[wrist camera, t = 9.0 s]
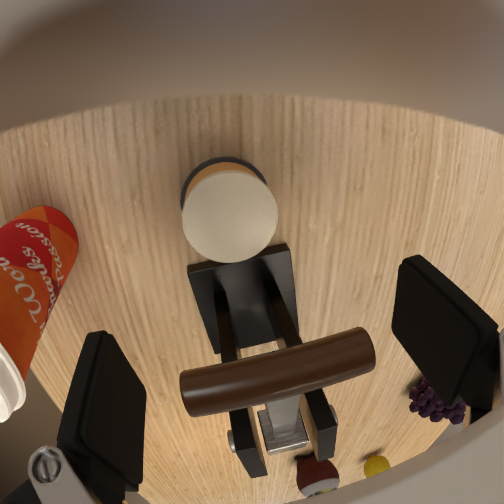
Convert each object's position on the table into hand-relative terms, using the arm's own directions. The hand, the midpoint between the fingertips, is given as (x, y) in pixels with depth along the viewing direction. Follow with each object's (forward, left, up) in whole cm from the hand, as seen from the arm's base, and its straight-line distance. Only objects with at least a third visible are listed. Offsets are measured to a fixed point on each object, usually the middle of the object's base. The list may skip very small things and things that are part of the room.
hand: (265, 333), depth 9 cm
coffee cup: (0, -15, -15) cm, 21 cm away
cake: (0, 0, -15) cm, 15 cm away
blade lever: (+5, 0, -1) cm, 5 cm away
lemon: (+59, +18, -15) cm, 63 cm away
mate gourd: (+47, +4, -15) cm, 49 cm away
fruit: (+35, +27, -15) cm, 47 cm away
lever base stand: (+9, 0, -15) cm, 17 cm away
